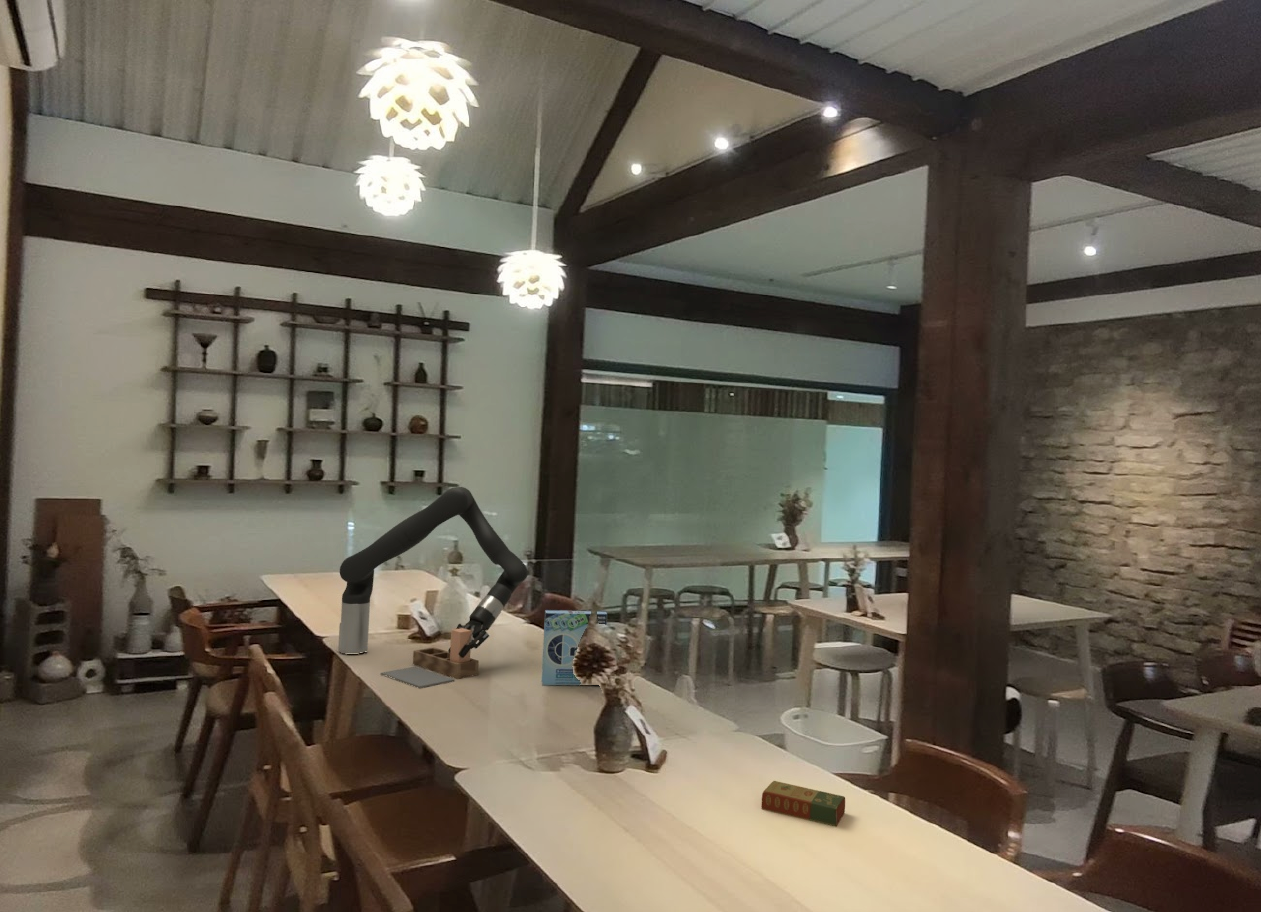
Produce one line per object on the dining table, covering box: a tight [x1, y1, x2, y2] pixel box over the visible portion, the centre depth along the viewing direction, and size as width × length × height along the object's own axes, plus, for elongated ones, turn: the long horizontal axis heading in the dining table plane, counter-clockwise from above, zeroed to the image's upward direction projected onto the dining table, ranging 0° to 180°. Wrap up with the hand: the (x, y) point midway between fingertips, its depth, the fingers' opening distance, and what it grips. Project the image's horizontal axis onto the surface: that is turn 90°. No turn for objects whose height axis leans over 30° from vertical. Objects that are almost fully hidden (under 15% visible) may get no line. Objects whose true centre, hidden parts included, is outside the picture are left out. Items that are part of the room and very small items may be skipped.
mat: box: [380, 665, 456, 689], centre depth 281 cm, size 20×13×1 cm, turn 50°
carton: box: [760, 780, 846, 828], centre depth 192 cm, size 8×16×4 cm, turn 64°
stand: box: [412, 647, 480, 680], centre depth 292 cm, size 23×8×4 cm, turn 50°
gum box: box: [541, 609, 608, 687], centre depth 283 cm, size 20×5×23 cm, turn 98°
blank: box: [449, 628, 472, 663], centre depth 288 cm, size 4×4×14 cm
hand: (455, 654), depth 286 cm, fingers closed on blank, 4 cm apart
